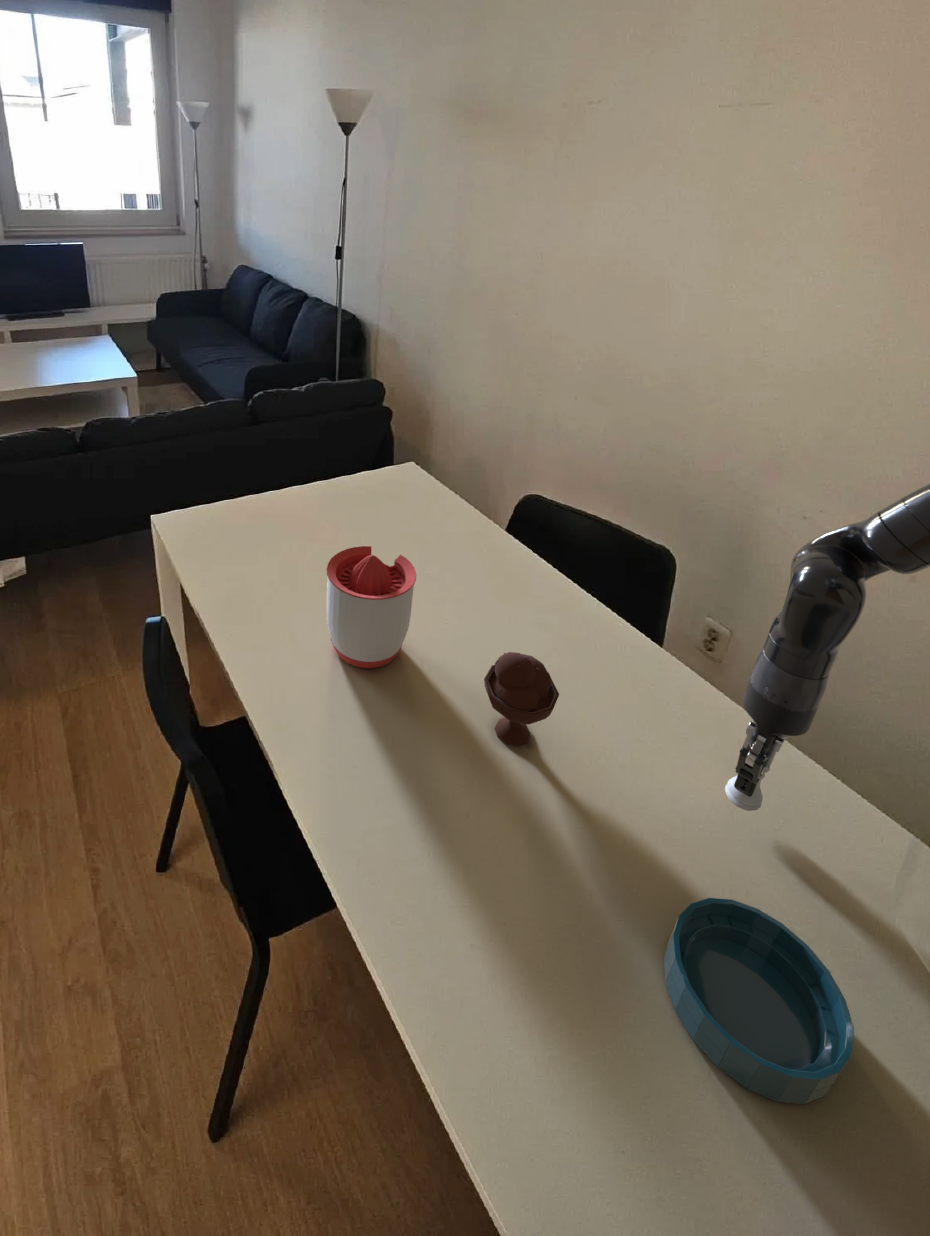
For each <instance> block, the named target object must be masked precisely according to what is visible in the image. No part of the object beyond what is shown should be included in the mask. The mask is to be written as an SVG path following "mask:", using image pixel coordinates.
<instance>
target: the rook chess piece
mask: <svg viewBox="0 0 930 1236" xmlns="http://www.w3.org/2000/svg"><path fill="white" fill-rule="evenodd" d="M764 756H766V755H764ZM770 770H771V766H770V767H768V768H764V770H763V773H762V775H763V776H762V778H760V780H759V782H758V783H757V786H756V788H755V791H754V793H753V795H752V796H751V797H749V796H747V795H745V794H743V793H742V792H740V791H739V790H737V789H736V788H735V787H734V784H735V781H736V779H737V776H738V774H737V775H735V776H733V777H731V778H730V779H728V780H727V783H726V784H725V787H724V791H725V795H726V796H727V798H728V800H729V801H730V802H731V803H732V804H733V805H734V806H735V807H737V808H739V809H741V810H743V811H747V812H753V811H757V810H759V809H761V807H762V803H763V799H764V797H763V793H762V789H761V782H762V780H763V779H765V776H766V773H768V772H770ZM761 779H762V780H761Z"/></svg>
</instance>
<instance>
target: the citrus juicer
mask: <svg viewBox="0 0 930 1236" xmlns="http://www.w3.org/2000/svg"><path fill="white" fill-rule="evenodd" d="M393 561H394V563H393V565H389V564H386V563H384V562H383V561H382V560H381V559H380V558H379V557H378V556H376V555H374V554H372V546H367V545H361V546H353V547H350V548H346V549H343V550H341V551H339V552H337V553H336V554H334V555H333V556H332V557H331V558H329V561H328V562H327V564H326V571H325V572H326V577H327V580H326V581H327V585H326V609H325V610H326V623H327V629H328V633H329V636H330V641H331V644H332V646H333V648H334V651H335V652H336V654H337V656H338V657H339V658H340V659H341V660H342V661H343V662H345V663H347V664H349V665H351V666H352V667H356V668H361V669H376V668H380V667H381V668H382V667H384V666H386V665H388V664H389V663H391V662H392V661H393V660H394V659H395V657H396V656H397V655H398V654H399V652H400V650H401V649H402V646H403V644H404V641H405V639H406V636H407V634H408V630H409V627H410V622H411V615H412V606H413V595H414V588H415V584H416V581H417V572H416V569H415V566H414V564H413V563H412V562H411V561H410V560H409V559H408V558H407V557H405V556H404V555H402V554H399V555H398V556H397V558H395V560H393Z"/></svg>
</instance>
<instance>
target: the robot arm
mask: <svg viewBox="0 0 930 1236" xmlns="http://www.w3.org/2000/svg"><path fill="white" fill-rule="evenodd" d="M928 568H930V482H929V483H927V484H924V485H923V486H921V487H919V488H917V489H915V490H912V491H911V492H910V493H907V494H906V495H904V496H902V497H900V498H899V499H897V500H895V501H894V502H892V503H890V504H888V505H887V506H885V507H883V508H882V509H880V510H878V511H876V512H875V513H873V514H871V515H870V516H869V517H868V518H866V519H863V520H860V521H856V522H852V523H850V524H847V525H843V526H842V527H839V528H836V529H833V530H831V531H828V532H826V533H823V534H821V535H819V536H817V537H815V538H812V539H811V540H810V541H808V542H806V543H805V544H804V545H803V546H800V548H799V549H798V550H797V551H796V552H795V554H794V555H793V557H792V559H791V562H790V575H789V576H790V577H789V585H788V589H787V593H786V597H785V600H784V603H783V605H782V609H781V612H779V613H778V614H777V615H776V616H775V618H773V619H774V620H773V621H772V623H771V626H770V628H769V631H768V634H767V637H766V639H765V642H764V645H763V647H762V649H761V651H760V652H759V654H758V655H757V657H756V660H755V662H754V664H753V667H752V671H751V673H750V676H749V679H748V681H747V685H746V687H745V690H744V693H743V696H742V705H743V708H744V710H745V712H746V713H747V715H748V716H749V717H750V718H751V719H752V720H751V721H750V722H749V724H748V726H747V728H746V731H745V734H746V737H745V739H744V742H743V743H742V746H741V748H740V750H739V755H738V760H737V763H736V766H735V768H734V769H735V774H737V775H738V776H737V775H736V776H737V779H736V781H735V784H734V787H735V788H736V789H737V790H739V791H740V792H742V793H743V794H745V795H747V796H749V797H751V796H752V795H753V793H754V791H755V788H756V786H757V783H758V782H759V780H760V778H762V776H763V775H762V773H763V770H764V768H768V767H770V768H771V765H772V763H773V761H774V759H775V757H776V754H777V753H779V752H780V750H781V749H782V747H783V745H784V742H785V741H786V740H787V738H788V737H798V736H802V735H805V734H806V733H808V731H809V730H810V728H811V726H812V724H813V722H814V719H815V717H816V714H817V712H818V709H819V707H820V704H821V703H822V700H823V698H824V695H825V694H826V693H825V692H826V690H827V687H828V682H829V677H830V674H831V671H832V669H833V667H834V664H835V662H836V661H837V658H838V655H839V652H840V648H841V645H842V644H843V643H844V642H845V641H846V640H847V638H848V636H849V635H850V634H851V632H852V631H853V629H854V628H855V627H856V625H857V623H858V621H859V619H860V618H861V616H862V613H863V610H864V607H865V604H866V600H867V586H866V582H867V581H868V580H871V579H872V578H874V577H876V576H879V575H881V574H884V573H886V572H889V571H892V572H895V573H897V574H901V575H911V574H916V573H919V572H921V571H923V570H926V569H928ZM764 755H766V756H764ZM762 780H763V779H761V781H762Z"/></svg>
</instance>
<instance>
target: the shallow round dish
mask: <svg viewBox="0 0 930 1236" xmlns="http://www.w3.org/2000/svg"><path fill="white" fill-rule="evenodd" d="M674 923H675V924H674V926H673V929H672V931H671V934H670V936H669V938H668V942H667V945H666V948H665V952H664V954H663V971H664V972H663V973H664V982H665V986H666V989H667V991H668V995H669V997H670V1001H671V1003H672V1005H673V1009H674V1011H675V1013H676V1015H677V1017H678V1018H679V1020H680V1021H681V1023H682V1024H683V1026H684V1028H685V1029H686V1031H687V1032H688V1035H689V1036H690V1038H691V1039H692V1040H693V1042H694V1043H695V1044H696V1045H697V1046H698V1047H699V1048H700V1050H702V1052H703V1053H704V1054H705V1055H706V1056H707V1057H708V1058H709V1059H710V1060H711V1062H713V1064H714V1065H715V1066H716V1067H717V1068H719V1069H720V1070H721V1071H723V1072H724V1073H725V1074H726V1075H728V1076H729V1077H731V1078H732V1079H733V1080H734V1081H736V1082H738V1083H739V1084H740V1085H741V1086H743V1087H744V1088H745V1089H747V1090H749V1091H751V1092H753V1093H756V1094H758V1095H760V1096H763V1097H765V1098H767V1099H769V1100H772V1101H774V1102H777V1103H785V1104H797V1105H798V1104H799V1105H806V1104H808V1103H811V1102H813V1101H816V1100H818V1099H820V1098H822V1097H825V1096H826V1095H827V1094H828V1093H829V1091H830V1089H831V1088H832V1086H833V1085H834V1083H835V1081H836V1080H837V1079H838V1077H839V1075H840V1074H841V1073H842V1071H843V1069H844V1068H845V1066H846V1065H847V1063H848V1062H849V1060H850V1059H851V1057H852V1056H853V1053H854V1035H855V1034H854V1033H855V1026H854V1023H853V1021H852V1017H851V1013H850V1011H849V1007H848V1004H847V1000H846V997H845V996H844V994H843V993H842V991H841V989H840V987H839V985H838V984H837V982H836V980H835V978H834V977H833V975H832V973H831V971H830V970H829V969H828V968H827V966H826V965H825V964H824V963H823V962H822V960H821V959H820V958H819V957H818V955H817V954H816V953H815V952H814V951H813V949H811V947H810V946H809V945H808V944H807V943H806V942H804V940H802V939H801V938H800V937H799V936H798V935H796V934H795V933H794V932H793V931H792V930H791V929H790V928H788V927H787V926H786V925H785V924H784V923H782V922H781V921H779V920H778V919H776V918H775V917H772V916H771V915H769V914H768V913H765V912H764V911H762V910H761V909H759V908H757V907H754V906H752V905H748V904H746V903H743V902H741V901H737V900H734V899H730V898H717V897H707V898H704V899H700V900H697V901H694V902H691V903H690V904H689V905H687V906H686V908H685V909H684V910H682V911H681V913H679V914H678V916H677V918H676V921H675V922H674Z"/></svg>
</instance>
